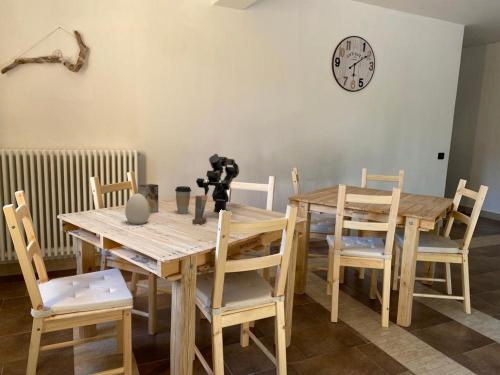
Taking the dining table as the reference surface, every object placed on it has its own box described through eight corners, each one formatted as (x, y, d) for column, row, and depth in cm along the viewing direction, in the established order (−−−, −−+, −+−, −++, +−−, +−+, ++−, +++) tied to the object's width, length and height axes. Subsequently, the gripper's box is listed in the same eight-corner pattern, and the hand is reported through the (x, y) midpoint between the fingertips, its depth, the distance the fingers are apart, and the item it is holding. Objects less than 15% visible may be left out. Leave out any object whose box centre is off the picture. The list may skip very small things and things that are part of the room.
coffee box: (151, 210, 224) (151, 183, 222) (158, 212, 221) (158, 184, 218) (138, 212, 217) (138, 184, 215) (145, 214, 213) (145, 186, 211)
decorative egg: (155, 222, 197) (155, 193, 195) (137, 226, 187) (137, 196, 185) (138, 218, 203) (138, 190, 201) (120, 222, 193) (119, 193, 191)
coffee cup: (171, 212, 220) (171, 187, 218) (181, 210, 228) (181, 185, 226) (184, 215, 216) (184, 189, 213) (194, 212, 224) (194, 187, 222)
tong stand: (197, 221, 203) (198, 194, 201) (206, 222, 202) (207, 194, 200) (192, 224, 196) (193, 196, 194) (201, 225, 195) (202, 196, 193)
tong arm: (197, 217, 200) (202, 196, 204) (202, 217, 199) (207, 196, 203) (196, 216, 198) (201, 195, 202) (202, 217, 197) (206, 195, 202)
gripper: (197, 164, 214) (189, 185, 205) (229, 166, 209) (221, 188, 200) (202, 176, 222) (194, 197, 214) (233, 178, 218) (226, 200, 209)
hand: (208, 196), depth 209 cm, fingers open, 4 cm apart
